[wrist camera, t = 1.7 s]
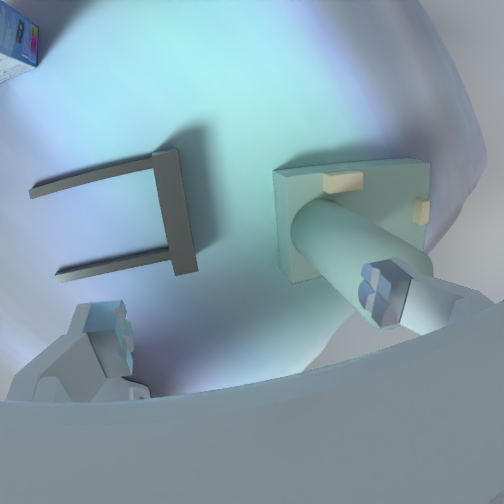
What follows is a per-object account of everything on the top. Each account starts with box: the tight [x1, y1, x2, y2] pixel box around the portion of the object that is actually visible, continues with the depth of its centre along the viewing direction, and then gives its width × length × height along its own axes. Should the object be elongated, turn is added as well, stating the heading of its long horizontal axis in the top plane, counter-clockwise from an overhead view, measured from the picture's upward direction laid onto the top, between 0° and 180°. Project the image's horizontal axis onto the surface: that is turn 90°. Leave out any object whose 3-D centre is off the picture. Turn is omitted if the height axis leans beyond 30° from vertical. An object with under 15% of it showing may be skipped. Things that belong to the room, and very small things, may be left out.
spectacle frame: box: [29, 148, 198, 283], centre depth 29 cm, size 12×16×4 cm
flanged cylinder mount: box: [273, 158, 433, 330], centre depth 30 cm, size 12×20×18 cm, turn 96°
